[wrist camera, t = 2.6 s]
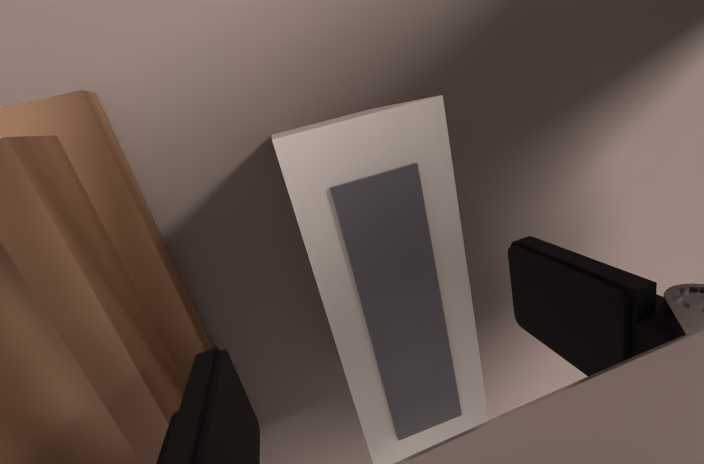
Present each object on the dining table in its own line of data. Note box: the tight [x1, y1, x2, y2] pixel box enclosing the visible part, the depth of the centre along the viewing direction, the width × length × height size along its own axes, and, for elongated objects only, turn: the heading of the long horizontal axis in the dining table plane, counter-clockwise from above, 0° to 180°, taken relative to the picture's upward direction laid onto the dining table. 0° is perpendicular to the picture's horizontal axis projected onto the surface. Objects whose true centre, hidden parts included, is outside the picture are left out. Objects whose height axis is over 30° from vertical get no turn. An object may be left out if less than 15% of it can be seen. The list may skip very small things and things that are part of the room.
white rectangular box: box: [271, 95, 489, 464], centre depth 14 cm, size 4×12×7 cm, turn 14°
